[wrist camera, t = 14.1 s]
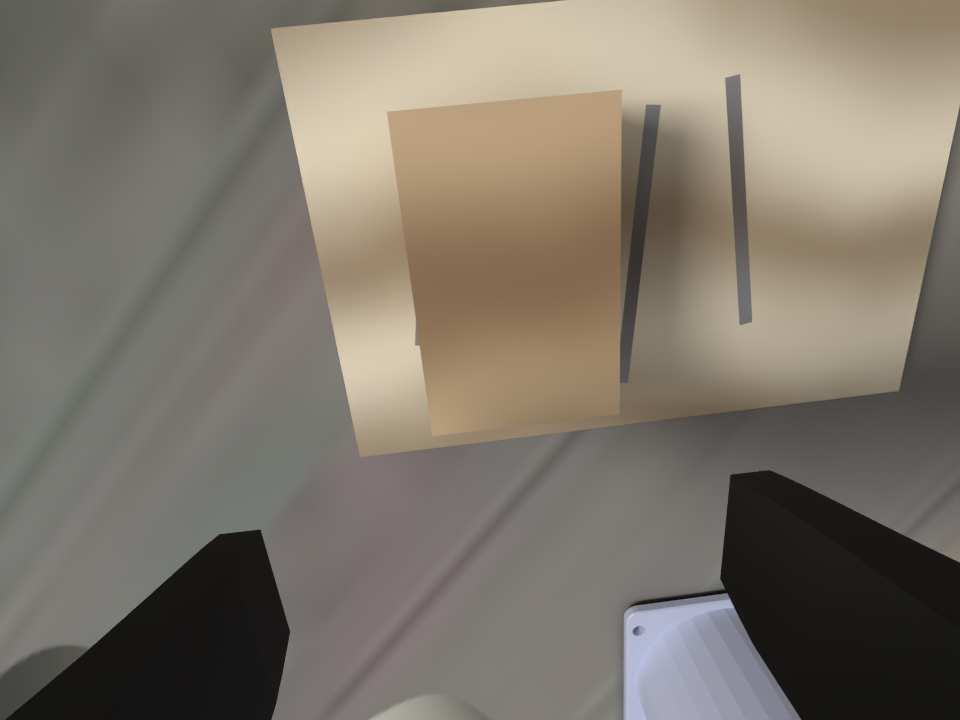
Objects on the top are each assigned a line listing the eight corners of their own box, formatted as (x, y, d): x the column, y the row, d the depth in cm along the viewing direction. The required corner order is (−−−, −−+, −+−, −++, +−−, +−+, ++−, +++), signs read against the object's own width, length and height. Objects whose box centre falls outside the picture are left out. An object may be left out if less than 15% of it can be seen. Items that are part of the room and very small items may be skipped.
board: (871, 376, 19) (899, 390, 18) (364, 438, 18) (360, 457, 17) (948, -26, 15) (990, -41, 13) (284, 38, 14) (270, 28, 13)
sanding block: (578, 354, 17) (619, 414, 13) (433, 371, 16) (432, 436, 13) (572, 105, 14) (621, 89, 10) (400, 122, 14) (386, 111, 10)
